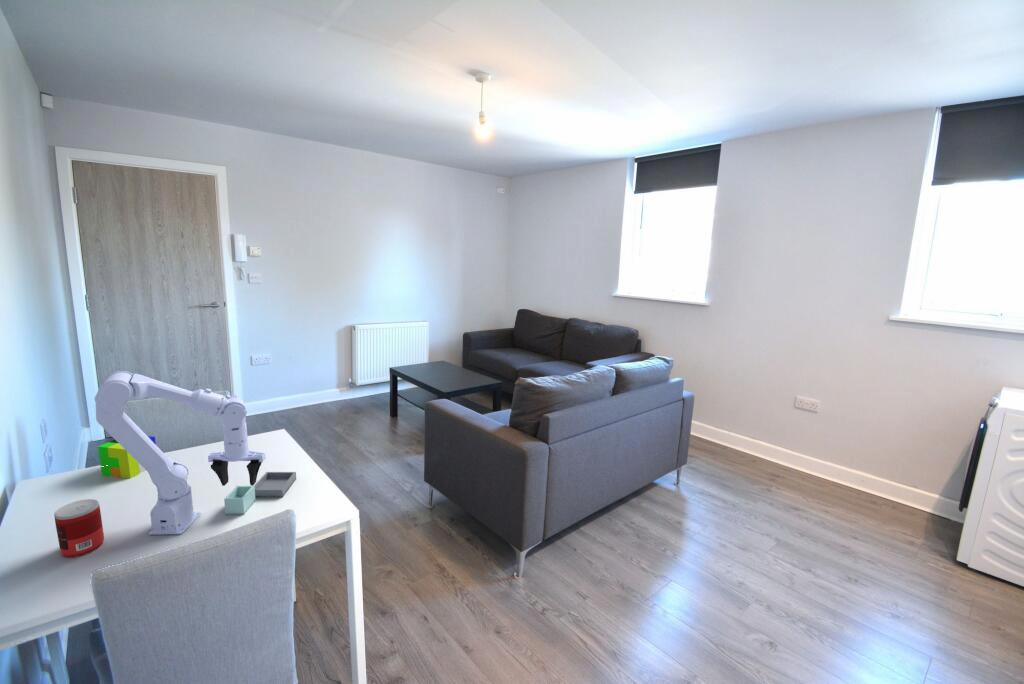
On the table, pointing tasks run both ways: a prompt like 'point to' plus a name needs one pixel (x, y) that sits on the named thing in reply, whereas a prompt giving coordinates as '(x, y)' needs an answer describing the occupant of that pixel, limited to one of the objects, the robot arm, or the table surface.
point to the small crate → (239, 500)
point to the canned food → (79, 527)
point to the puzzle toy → (119, 460)
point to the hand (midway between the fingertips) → (239, 483)
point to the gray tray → (274, 484)
